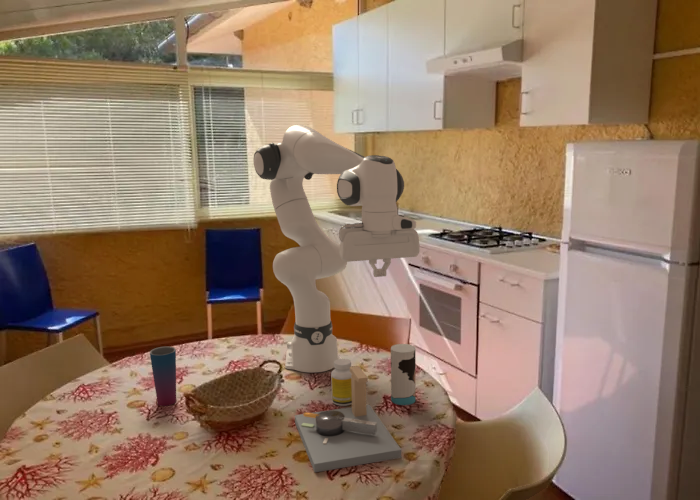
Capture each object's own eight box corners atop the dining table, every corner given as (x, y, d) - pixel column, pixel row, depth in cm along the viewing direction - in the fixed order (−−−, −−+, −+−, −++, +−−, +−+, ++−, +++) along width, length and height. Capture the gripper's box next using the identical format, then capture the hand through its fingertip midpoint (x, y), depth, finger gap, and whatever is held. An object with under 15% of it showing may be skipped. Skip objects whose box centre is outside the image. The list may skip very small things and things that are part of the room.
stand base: (294, 422, 149) (292, 373, 147) (369, 411, 155) (368, 364, 152) (314, 472, 127) (312, 415, 124) (401, 457, 132) (401, 403, 129)
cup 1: (159, 409, 158) (155, 357, 156) (150, 401, 163) (145, 350, 161) (183, 402, 162) (179, 351, 160) (173, 394, 168) (169, 344, 165)
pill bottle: (352, 407, 157) (351, 366, 155) (329, 406, 158) (328, 365, 156) (357, 397, 163) (356, 357, 161) (334, 395, 165) (333, 356, 163)
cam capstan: (298, 431, 140) (298, 419, 140) (310, 418, 147) (310, 407, 146) (371, 443, 134) (371, 430, 134) (380, 429, 141) (380, 417, 140)
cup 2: (419, 402, 159) (419, 350, 157) (397, 406, 157) (397, 353, 154) (409, 393, 165) (408, 342, 163) (387, 397, 163) (386, 345, 160)
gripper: (342, 225, 139) (343, 282, 142) (422, 221, 145) (421, 275, 147) (335, 222, 145) (336, 276, 148) (412, 218, 151) (412, 270, 153)
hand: (379, 276), depth 148 cm, fingers closed
